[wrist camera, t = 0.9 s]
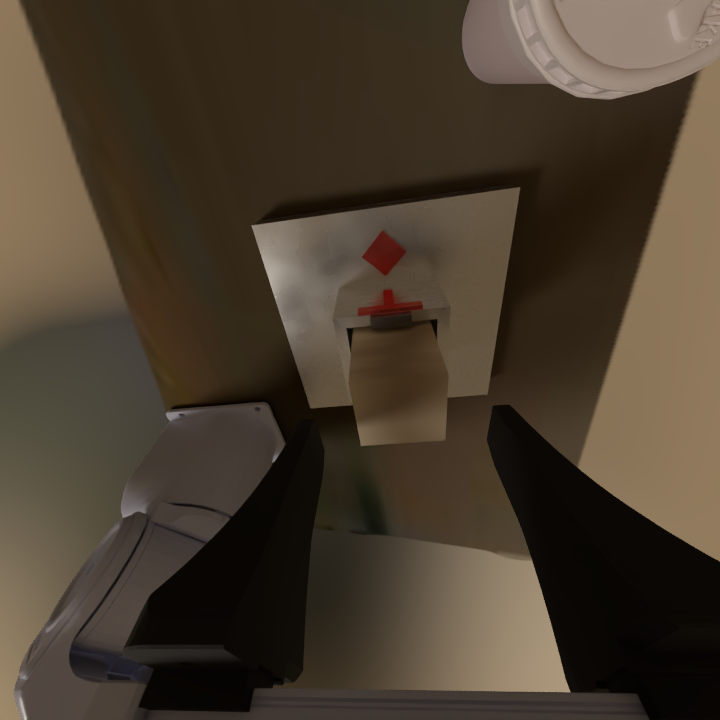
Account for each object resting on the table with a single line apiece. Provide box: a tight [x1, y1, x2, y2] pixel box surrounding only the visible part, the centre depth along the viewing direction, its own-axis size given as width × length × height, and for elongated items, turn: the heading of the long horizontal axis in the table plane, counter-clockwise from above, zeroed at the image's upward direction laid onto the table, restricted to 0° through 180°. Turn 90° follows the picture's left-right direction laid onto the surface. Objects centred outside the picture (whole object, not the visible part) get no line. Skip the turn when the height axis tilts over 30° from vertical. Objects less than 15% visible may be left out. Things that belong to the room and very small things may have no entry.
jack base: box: [252, 184, 520, 408], centre depth 18 cm, size 14×14×6 cm
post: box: [348, 320, 449, 446], centre depth 16 cm, size 4×4×8 cm
